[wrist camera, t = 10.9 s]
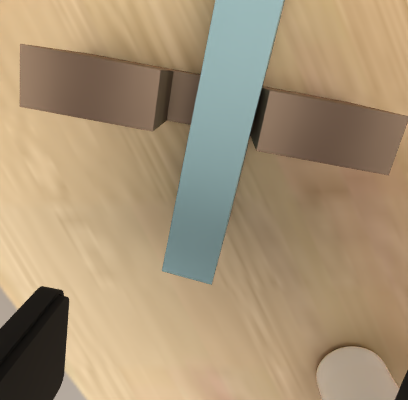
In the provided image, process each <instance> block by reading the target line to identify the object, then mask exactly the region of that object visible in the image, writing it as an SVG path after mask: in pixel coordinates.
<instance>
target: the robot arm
mask: <svg viewBox="0 0 408 400" xmlns="http://www.w3.org/2000/svg"><path fill="white" fill-rule="evenodd" d="M68 310H69V298H68V297H66V296H64V293H63V291H62V290H59V289H54V288H49V287H44V286H41V287H40V288H38V289H37V290H36V291H35V292H34V293H33V295H32V296H31V297H30V298H29V299H28V300H27V301H26V302H25V303H24V304H23V305H22V306H21V307H20V308H19V309H18V310H17V312H16V313H15V314H14V315H13V316H12V317H11V318H10V319H9V320H8V321H7V322H6V323H5V325H4V326H2V327H1V329H0V400H53V399H54V397H55V396H56V394H57V392H58V390H59V388H60V386H61V384H62V381H63V377H64V367H65V353H66V339H67V325H68ZM395 400H408V371H407V373H406V375H405V377H404V380H403V382H402V384H401V386H400V389H399V391H398V393H397V396H396V398H395Z"/></svg>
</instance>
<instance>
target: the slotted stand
mask: <svg viewBox="0 0 408 400" xmlns="http://www.w3.org/2000/svg"><path fill="white" fill-rule="evenodd" d="M200 76H201V75H200V74H194V73H189V72H184V71H178V70H173V69H168V68H162V67H157V66H152V65H146V64H141V63H136V62H130V61H125V60H120V59H114V58H109V57H104V56H98V55H93V54H87V53H80V52H73V51H66V50H59V49H53V48H46V47H39V46H32V45H25V44H20V107H25V108H30V109H35V110H41V111H46V112H51V113H57V114H62V115H67V116H73V117H78V118H84V119H89V120H94V121H100V122H105V123H110V124H116V125H121V126H126V127H132V128H137V129H143V130H148V131H154V130H155V129H156V128H158V127H159V126H160V125H161V124H163V123H164V122H165V121H166V120H169V121H174V122H179V123H185V124H190V125H191V122H192V116H193V111H194V106H195V101H196V96H197V91H198V86H199V81H200ZM407 123H408V116H404V115H400V114H396V113H391V112H387V111H383V110H379V109H374V108H370V107H366V106H362V105H357V104H353V103H349V102H344V101H339V100H333V99H328V98H322V97H317V96H312V95H306V94H301V93H296V92H290V91H285V90H280V89H274V88H269V87H264V86H262V90H261V94H260V98H259V102H258V106H257V110H256V114H255V118H254V122H253V125H252V129H251V133H250V136H251V138H252V141H253V143H254V146H255V148H256V151H261V152H266V153H271V154H277V155H282V156H287V157H293V158H298V159H303V160H309V161H314V162H320V163H325V164H330V165H336V166H341V167H346V168H352V169H357V170H362V171H368V172H373V173H379V174H384V175H389V173H390V170H391V167H392V165H393V162H394V159H395V156H396V153H397V151H398V148H399V145H400V142H401V139H402V137H403V134H404V131H405V128H406V125H407Z"/></svg>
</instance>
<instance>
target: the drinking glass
mask: <svg viewBox="0 0 408 400" xmlns="http://www.w3.org/2000/svg"><path fill="white" fill-rule="evenodd" d="M316 380H317V385H318V389H319V392H320V396H321V399H322V400H395V398H396V396H397V393H398V391H399V389H400V388H399V387H398V385H397V384H396V382H395V381H394V379H393V377H392V375H391V374H390V372H389V370H388V368H387V366H386V365H385V363H384V362H383V360H382V359H381V358H380V357H379V356H378V355H377V354H375V353H374V352H372V351H371V350H368V349H366V348H363V347H357V346H348V347H342V348H339V349H336V350H334V351H332V352H330V353H329V354H328V355H326V356H325V357H324V358H323V359H322V361H321V362H320V364H319V366H318V369H317V373H316Z"/></svg>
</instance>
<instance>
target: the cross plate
mask: <svg viewBox="0 0 408 400" xmlns="http://www.w3.org/2000/svg"><path fill="white" fill-rule="evenodd" d="M284 1H285V0H215V5H214V10H213V15H212V20H211V26H210V31H209V36H208V41H207V46H206V51H205V56H204V61H203V66H202V71H201V76H200V81H199V86H198V91H197V96H196V101H195V106H194V111H193V116H192V122H191V127H190V132H189V137H188V142H187V147H186V152H185V157H184V162H183V167H182V172H181V177H180V182H179V187H178V192H177V197H176V202H175V207H174V212H173V217H172V223H171V228H170V233H169V238H168V243H167V248H166V253H165V258H164V263H163V268H162V271H164V272H167V273H171V274H175V275H178V276H182V277H185V278H189V279H193V280H196V281H200V282H204V283H207V284H211V285H212V281H213V277H214V274H215V270H216V266H217V263H218V259H219V255H220V252H221V248H222V244H223V240H224V237H225V233H226V229H227V226H228V222H229V218H230V214H231V210H232V206H233V202H234V198H235V194H236V190H237V186H238V182H239V178H240V174H241V171H242V167H243V163H244V159H245V155H246V151H247V147H248V141H249V137H250V133H251V129H252V125H253V122H254V118H255V114H256V110H257V106H258V102H259V98H260V94H261V90H262V86H263V82H264V78H265V74H266V70H267V68H268V64H269V60H270V57H271V53H272V49H273V45H274V41H275V37H276V33H277V29H278V25H279V21H280V17H281V13H282V9H283V5H284Z"/></svg>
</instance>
